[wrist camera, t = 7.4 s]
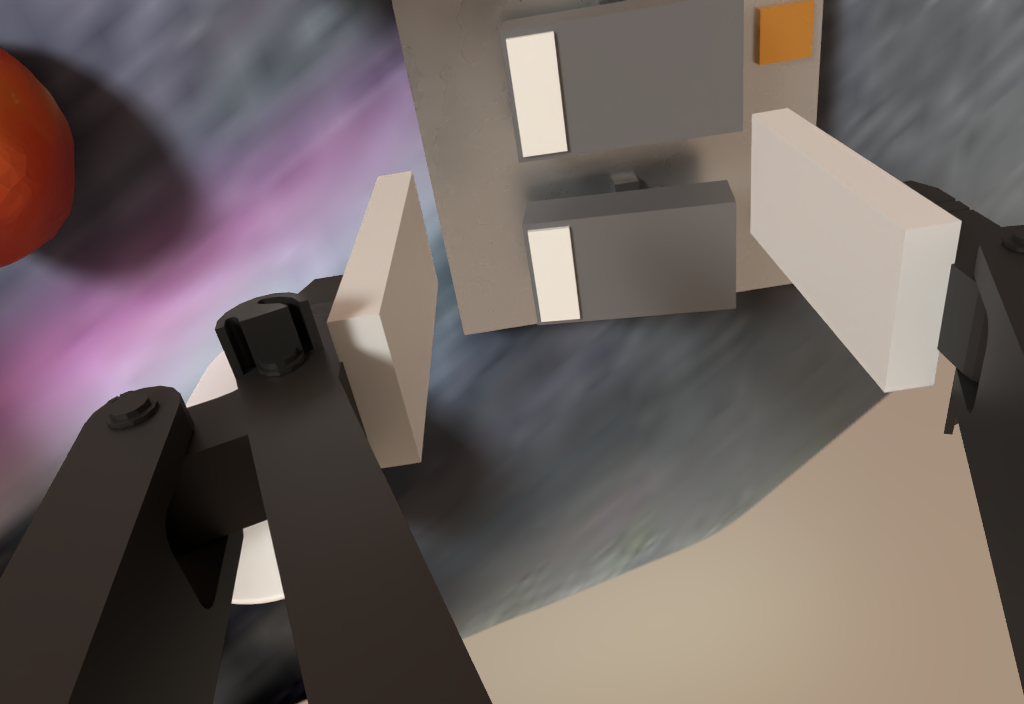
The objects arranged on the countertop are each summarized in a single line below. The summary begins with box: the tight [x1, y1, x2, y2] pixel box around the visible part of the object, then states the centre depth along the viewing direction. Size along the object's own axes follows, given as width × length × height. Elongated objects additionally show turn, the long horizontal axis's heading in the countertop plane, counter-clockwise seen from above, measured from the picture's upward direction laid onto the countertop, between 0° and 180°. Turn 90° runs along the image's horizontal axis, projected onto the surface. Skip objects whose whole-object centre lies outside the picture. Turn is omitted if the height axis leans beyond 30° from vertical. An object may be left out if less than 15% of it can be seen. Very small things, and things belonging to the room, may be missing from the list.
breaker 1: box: [499, 0, 744, 163], centre depth 26 cm, size 8×4×3 cm, turn 99°
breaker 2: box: [522, 180, 736, 325], centre depth 30 cm, size 8×4×3 cm, turn 99°
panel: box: [392, 0, 823, 335], centre depth 29 cm, size 16×24×3 cm, turn 9°
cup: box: [186, 350, 285, 604], centre depth 35 cm, size 8×12×10 cm
